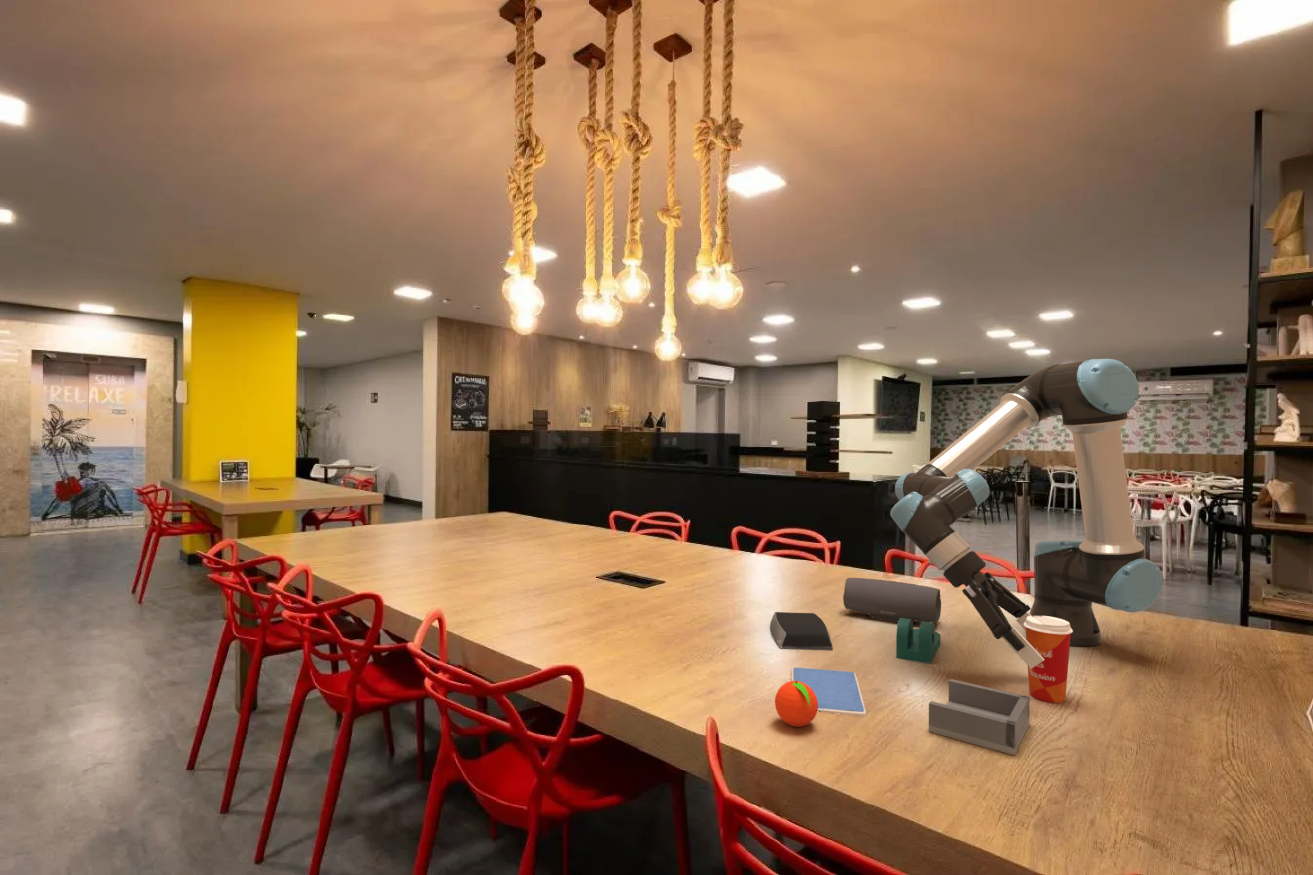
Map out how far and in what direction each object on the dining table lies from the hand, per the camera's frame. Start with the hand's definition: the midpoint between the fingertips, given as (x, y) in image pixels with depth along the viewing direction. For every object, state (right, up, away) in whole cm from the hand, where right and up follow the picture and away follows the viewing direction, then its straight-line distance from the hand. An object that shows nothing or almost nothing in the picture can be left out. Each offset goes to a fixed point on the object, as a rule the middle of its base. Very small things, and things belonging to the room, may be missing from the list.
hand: (1043, 654), depth 116 cm
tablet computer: (-39, -8, +2) cm, 40 cm away
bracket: (-12, -8, +26) cm, 30 cm away
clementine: (-48, -8, -12) cm, 50 cm away
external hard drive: (-37, -8, +35) cm, 51 cm away
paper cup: (+1, -8, 0) cm, 8 cm away
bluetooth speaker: (-10, -8, +49) cm, 51 cm away
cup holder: (-18, -8, -12) cm, 23 cm away
